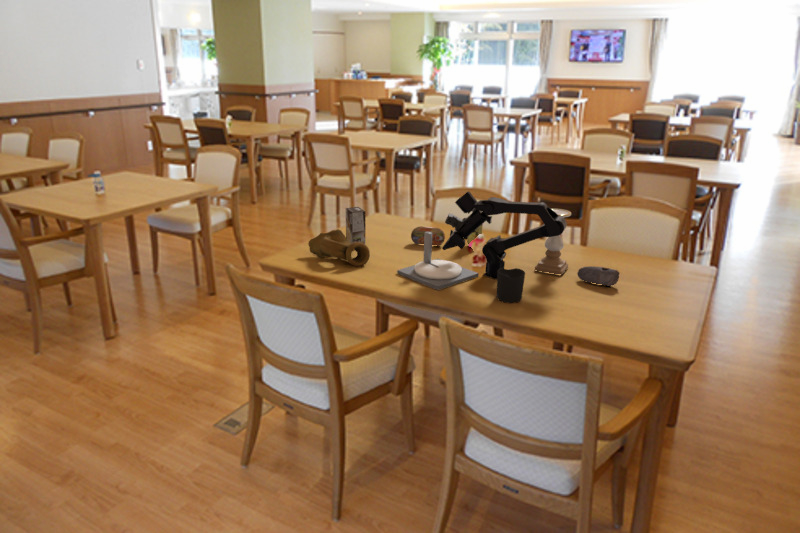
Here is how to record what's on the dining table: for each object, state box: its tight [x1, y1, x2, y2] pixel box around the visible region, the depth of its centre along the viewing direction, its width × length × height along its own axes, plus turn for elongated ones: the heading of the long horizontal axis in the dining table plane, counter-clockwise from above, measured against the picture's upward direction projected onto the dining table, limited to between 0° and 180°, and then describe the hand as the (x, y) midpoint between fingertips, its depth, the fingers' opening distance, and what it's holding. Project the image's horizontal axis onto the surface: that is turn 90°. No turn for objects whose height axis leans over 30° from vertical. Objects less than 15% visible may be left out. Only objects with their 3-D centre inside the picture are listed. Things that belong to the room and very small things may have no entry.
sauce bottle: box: [466, 209, 484, 244], centre depth 262 cm, size 7×6×20 cm
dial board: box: [396, 258, 479, 291], centre depth 229 cm, size 22×22×2 cm
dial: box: [414, 232, 462, 280], centre depth 226 cm, size 18×18×14 cm
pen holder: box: [496, 268, 526, 304], centre depth 207 cm, size 9×9×10 cm
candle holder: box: [534, 208, 572, 276], centre depth 234 cm, size 11×11×24 cm
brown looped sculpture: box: [307, 228, 371, 268], centre depth 242 cm, size 18×13×22 cm
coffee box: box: [345, 206, 367, 245], centre depth 261 cm, size 9×6×16 cm
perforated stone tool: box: [576, 265, 621, 287], centre depth 223 cm, size 15×5×7 cm, turn 54°
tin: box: [410, 225, 446, 247], centre depth 264 cm, size 15×3×8 cm, turn 73°
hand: (442, 249), depth 232 cm, fingers closed
